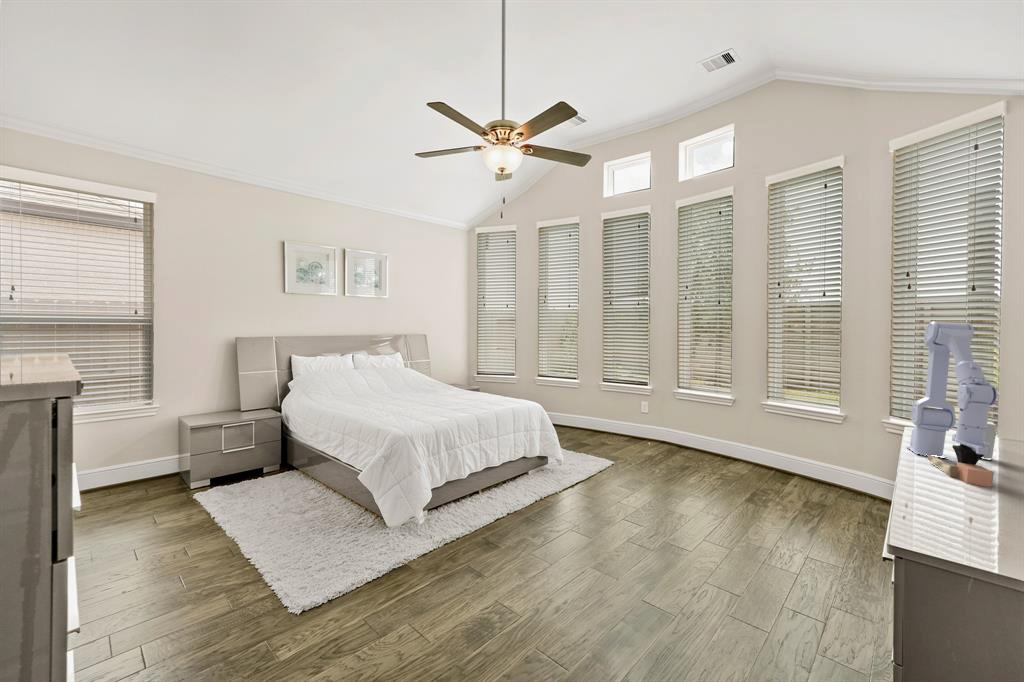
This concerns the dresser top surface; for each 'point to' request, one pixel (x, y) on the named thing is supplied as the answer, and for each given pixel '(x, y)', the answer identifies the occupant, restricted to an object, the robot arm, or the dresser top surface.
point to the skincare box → (990, 438)
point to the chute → (945, 466)
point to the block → (974, 474)
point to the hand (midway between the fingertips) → (965, 472)
